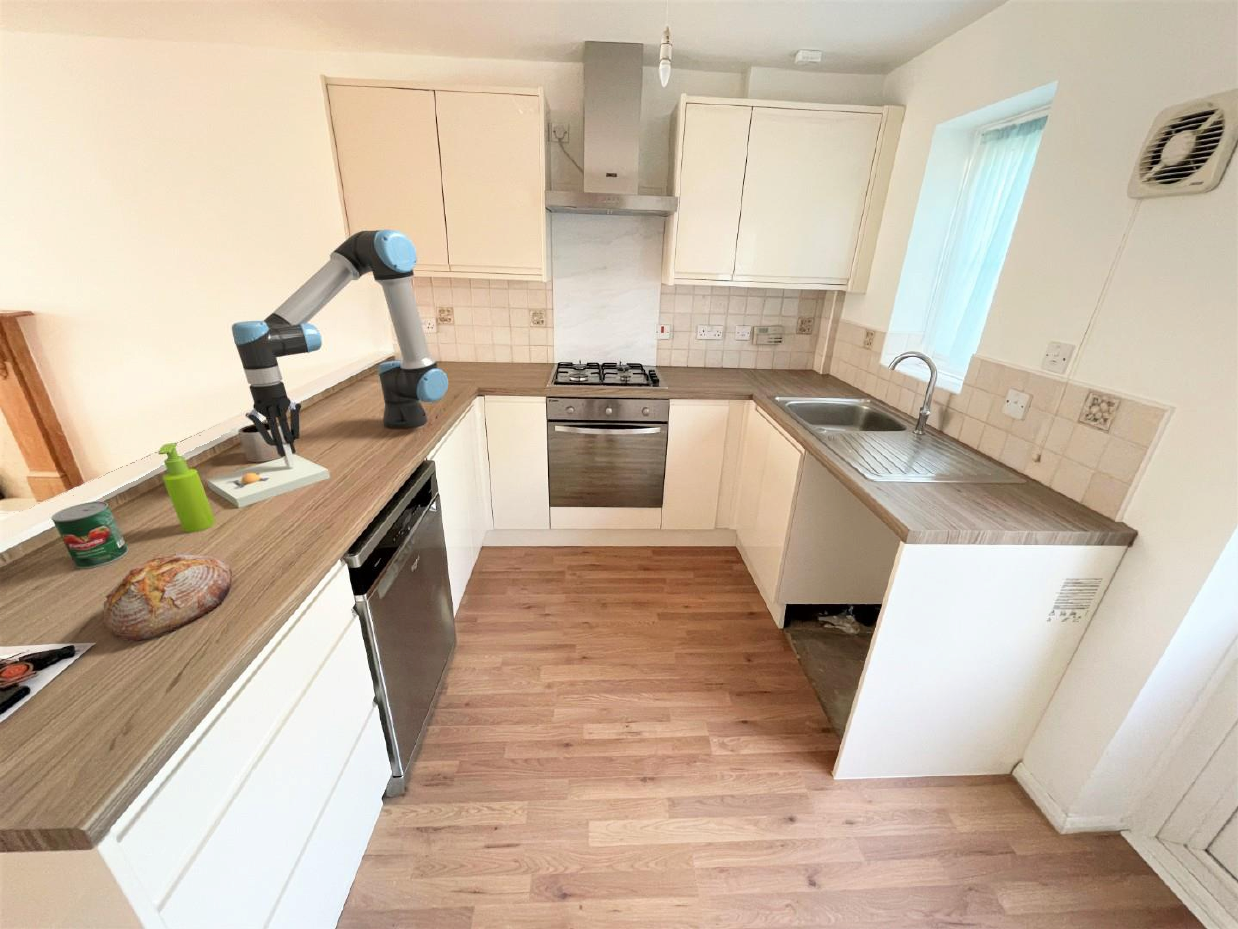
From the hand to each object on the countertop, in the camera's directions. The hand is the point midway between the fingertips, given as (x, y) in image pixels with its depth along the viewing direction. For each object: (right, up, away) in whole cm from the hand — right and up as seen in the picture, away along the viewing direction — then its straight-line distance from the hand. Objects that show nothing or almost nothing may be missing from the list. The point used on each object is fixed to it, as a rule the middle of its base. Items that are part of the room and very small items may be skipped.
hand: (290, 465), depth 138 cm
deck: (-3, -5, -3) cm, 7 cm away
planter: (-17, +3, +15) cm, 22 cm away
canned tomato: (-14, -19, -37) cm, 44 cm away
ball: (-6, -4, -7) cm, 10 cm away
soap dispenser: (-4, -14, -25) cm, 29 cm away
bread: (+13, -25, -50) cm, 58 cm away
